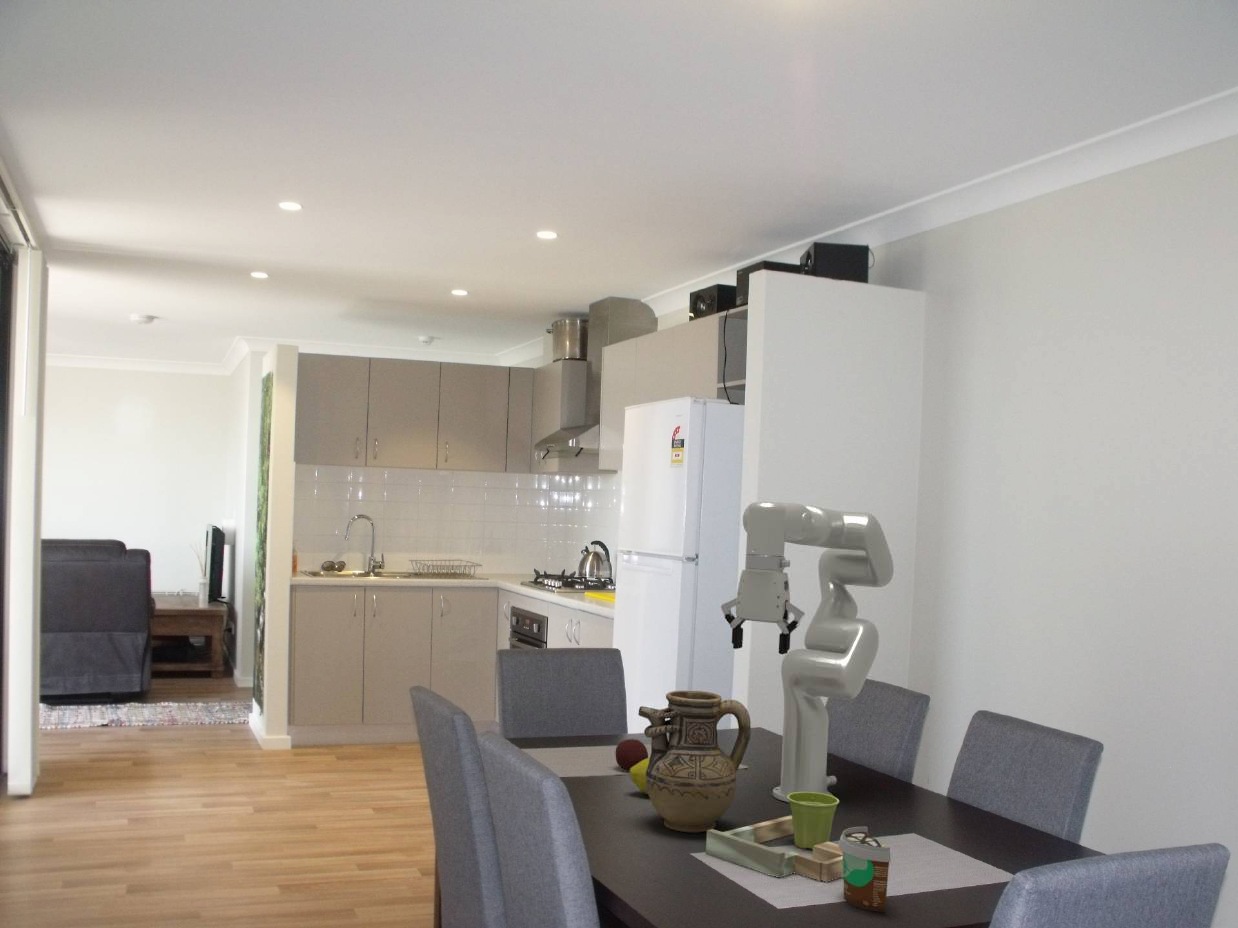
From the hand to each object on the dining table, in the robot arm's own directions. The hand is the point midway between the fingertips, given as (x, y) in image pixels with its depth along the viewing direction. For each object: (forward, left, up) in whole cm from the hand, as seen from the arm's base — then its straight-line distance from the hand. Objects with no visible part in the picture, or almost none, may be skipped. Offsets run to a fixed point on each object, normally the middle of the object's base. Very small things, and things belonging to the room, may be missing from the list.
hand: (760, 650), depth 222 cm
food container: (+22, +39, -33) cm, 56 cm away
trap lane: (+11, +20, -33) cm, 40 cm away
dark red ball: (-9, -43, -33) cm, 55 cm away
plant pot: (+4, +17, -33) cm, 38 cm away
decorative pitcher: (+14, -4, -33) cm, 36 cm away
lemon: (+3, -24, -33) cm, 41 cm away
